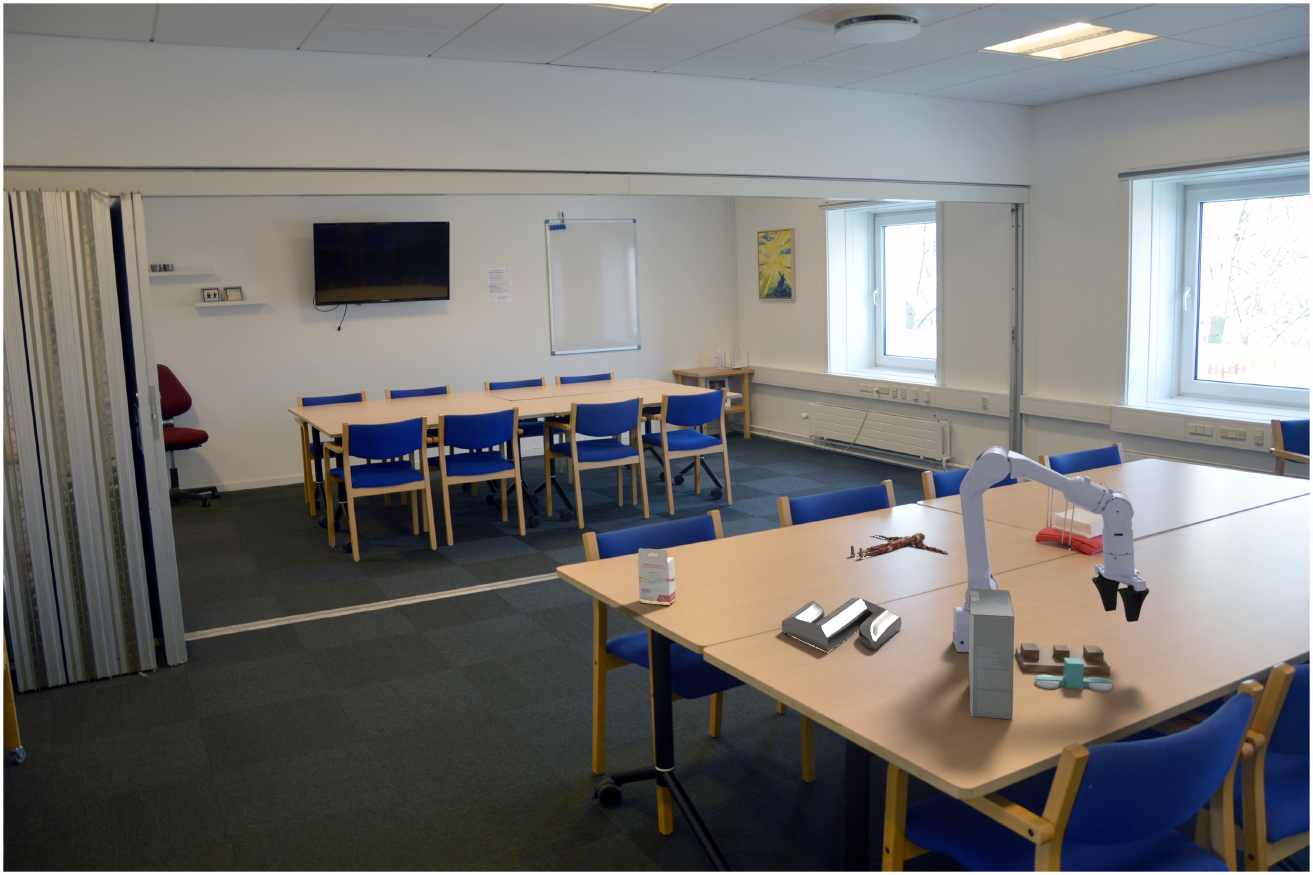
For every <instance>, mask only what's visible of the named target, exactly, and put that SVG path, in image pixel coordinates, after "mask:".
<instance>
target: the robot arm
mask: <svg viewBox="0 0 1313 875" xmlns="http://www.w3.org/2000/svg"><path fill="white" fill-rule="evenodd" d="M1009 474H1010V479H1011V480H1014V479H1018V478H1019V479H1020V478H1027V479H1030V480H1032V481H1035V482H1037V483H1040V484H1042V485H1045V486H1046V487H1049V488H1051V489H1054V490H1056V491H1058V492H1062V493H1061V494H1063V498H1064V500H1065V501H1066V502H1069V503H1071V504H1072V505H1075V506H1077V507H1079V508H1082V509H1084V510H1085V511H1087V512H1090V513H1092V514H1094V515H1101V516H1102V524H1103V526H1102V530H1101V533H1102V535H1101V538H1102V554H1103V556H1102V557H1103V563H1100V564H1094V574H1096V575H1097V576H1094V577H1092V578H1091V581H1092V583H1093V584H1094V586H1095V587H1096V590H1097V591H1098V593H1099V596H1100V599H1101V603H1102V605H1103V609H1104V611H1105V612H1112V611H1116V610H1117V605H1118V593H1119V596H1120V598H1121V600H1122V603H1123V608H1124V615H1125V620H1126V622H1128V623H1131V622H1138V621H1139V620H1140V614H1141V611H1142V610H1141V609H1142V606H1143V603H1144V601H1145V599H1146V598H1147V596H1148V595H1149V593H1150V589H1149V588H1148V587H1147V581H1146V580H1145V579H1143V578H1141V577H1140V570H1138V569H1136V567H1135V549H1134V548H1135V546H1134V531H1133V530H1134V529H1133V528H1132V527H1133V521H1132V520H1133V517H1134V514H1135V511H1134V509H1133V506H1132V502H1131V500H1130V498H1128V497H1127V495H1125V494H1124V493H1122V492H1121V491H1118V490H1114V488H1112V487H1110V486H1109V487H1108V488H1106V487H1104V486H1102V485H1100V484H1097V483H1095V482H1093V481H1092V478H1091V477H1090V476H1087V475H1085V476H1084V477H1082V476H1080V475H1076V476H1072V477H1067V476H1065V475H1063V474H1061V473H1059V472H1057V471H1056V470H1053V469H1052V468H1049V467H1048V466H1045V465H1044V464H1042V463H1040V462H1037V461H1035V460H1033V459H1031V458H1029V457H1027V456H1025V455H1023V454H1020V453H1019V452H1016V451H1013V450H1010V449H1009V450H1006V449H1005V448H1004V447H1002V446H997V445H993V446H989V447H987V448H985V449H984V450H983V451H982V452H981V453H979V454H978V455H977V456H976V457H975V459H974V461H973V462H972V463H971V466H970V468H969V469H968V471H967V473H966V474H965V476H964V478H963V479H962V481H961V483H960V485H959V496H960V507H961V515H962V523H963V535H964V543H965V544H964V545H965V552H966V554H965V555H966V564H967V588H966V591H965V593H964V600H965V602H964V604H963V606H957V607H956V606H955V607H954V608H953V620H952V621H953V624H952V626H953V627H952V628H953V629H952V641H953V644H954V647H955V651H956V652H957V653H969V589H970V588H971V589H972V588H973V589H994V590H999V588H998V582H997V580H996V578H995V577H994V575H993V573H992V566H991V560H990V552H989V543H988V542H989V541H988V534H987V533H988V532H987V521H986V515H985V514H986V512H985V503H984V494H985V493H986V491H988V490H989V488H990V487H991V486H994V485H995V484H998V483H999V482H1001V481H1003V480H1005V479H1006V477H1008V475H1009ZM1120 583H1121V584H1123V585H1126V587H1121V588H1119V587H1120Z"/></svg>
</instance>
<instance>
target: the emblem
mask: <svg viewBox="0 0 1313 875" xmlns="http://www.w3.org/2000/svg"><path fill="white" fill-rule="evenodd" d="M901 628H902V618H901V616H900V615H899V614H896V613H894V612H892V611H890V610H889V609H888V608H887V609H886V608H885V607H882V606H880V605H877V604H875V603H873V602H871V601H869V600H867V599H864V598H861V597H852V598H850V599H848V600H847V601H846V602H844V603H843V604H841V605H840V606H839V607H837V608H836V609H834V610H832V611H831V612H830V613H828V614H827V615H826V616H825V610H824V608H823V606H821V605H820V604H819V603H817V602H816V601H815V600H811V601H808V602H806V604H805V605H803V606H801V607H800V608H799V609H798V610H796V611H795V612H793V613H791V614H790V615H788V616H787V617H785V618H784V619H782V621H781V632H782V631H783V632H785V633H787V634H789V635H791V636H794V637H796V638H798V639H800V640H802V641H804V642H807V643H809V644H811V645H814V646H815V647H818V648H820V649H822V650H824V651H826V652H829V651H830V650H831V649H833V648H835V647H836V646H837V645H839V644H840V643H842V642H843V641H844V640H846V639H847V638H849V637H850V636H851V635H853V634H854V633H855V632H857V631H858V630H859V631H858V632H857V633H858V639H859V641H860V643H862V644H863V645H864V646H865V647H866V648H869V649H874V650H876V649H878V648H879V647H881V645H883V643H885V642H886V641H887V640H888V639H890V638H891V637H892V636H893V635H894V634H896V633H897V632H898V631H899V630H900V629H901ZM783 632H782V633H783ZM855 634H856V633H855ZM855 634H854V635H855ZM854 635H853V636H854ZM850 638H851V637H850ZM850 638H849V639H850ZM846 641H847V640H846ZM842 644H843V643H842ZM839 646H840V645H839ZM835 649H836V648H835Z"/></svg>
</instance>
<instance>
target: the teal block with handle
mask: <svg viewBox="0 0 1313 875" xmlns="http://www.w3.org/2000/svg"><path fill="white" fill-rule="evenodd" d="M1083 672H1084V664H1083V662H1082V661H1081V659H1080V658H1064V673H1063V676H1061V677H1060V676H1055V675H1050V674H1038V675H1035V676H1034V684H1035V685H1036V686H1037V687H1039V688H1043V689H1050V690H1052V689H1057V688H1060V687H1066V689H1067V688H1068V689H1084V688H1089V689H1090V690H1094V691H1098V692H1109V691H1111V690H1112V689H1113V681H1112V680H1111V679H1110V678H1109V679H1108V678H1105V677H1101V676H1089V677H1087V678H1086V677H1085V678H1084V674H1083Z"/></svg>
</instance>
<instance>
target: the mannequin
mask: <svg viewBox="0 0 1313 875" xmlns="http://www.w3.org/2000/svg"><path fill="white" fill-rule="evenodd" d="M874 535H875V536H879V537H882V538H885V539H888V540H892V541H887V543H880V544H877V545H873V546H870V547H867V548H864V549H863V548H862V547H860V548H859V552H856V553H857V554H859V556H858V558H859V557H861V558H863V556H864V557H866V556H874V557H876V556H875V555H877V554H879V555H881V554H880V553H882V554H886V553H885V552H887V553H890V552H889V551H891V552H893V550H894V551H896V550H895V549H897V550H899V549H900V547H902V548H903V546H904V547H908V545H910V546H914V547H916V548H918V547H919V548H918V549H921V548H923V549H922V550H925V549H927V550H926V551H929V550H932V551H931V552H933V551H935V552H934V553H938V552H940V554H943V555H949V552H948V551H945V550H943V549H939V548H937V547H933V546H928V545H927V544H925V543H923V541H924V540H925V539H926V536H925V534H924V533H923V532H916V533H914V534H913V535H911V536H910V535H906V536H886V535H885V536H884V535H880V534H874ZM911 544H912V545H911ZM898 548H899V549H898ZM871 551H872V552H871ZM868 552H870V553H868ZM856 553H855V547H854V546H853V545H851V546H850V556H851V555H854V556H855V554H856ZM863 553H868V554H865V555H863ZM877 556H878V555H877Z"/></svg>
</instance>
